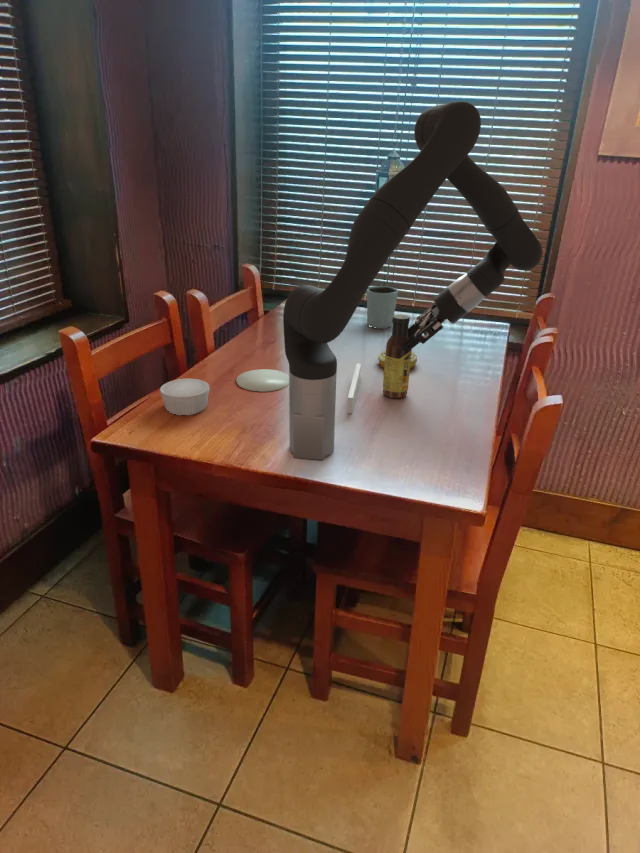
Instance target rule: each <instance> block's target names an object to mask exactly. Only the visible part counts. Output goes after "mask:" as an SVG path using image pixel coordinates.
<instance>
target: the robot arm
mask: <svg viewBox="0 0 640 853" xmlns="http://www.w3.org/2000/svg"><path fill="white" fill-rule="evenodd" d="M481 127H482V122H481V115H480V111H479V110H478V109H477V108H476V106H475V105H474V104H472V103H469V102H467V101H452V102H451V101H450V102H447V103H442V104H438V105H434V106H431V107H429V108H427V109H425V110H422V112H421V113H420V114H419V116H418V118H417V119H416V122H415V125H414V134H413V135H414V140H415V143H416V145H417V148H418V150H419V152H418V153H417V155H416V156H415V157H414V158H413V159H412V160H410V162H409V163H408V164H407V165H406V166H404V167H403V168H402V169H401V170H400V171H398V172H397V173H396V174H394V175H393V176H392V177H391V178H389V179H388V180H387V181H385V182H384V183H383V184H382V185H381V186H380V187H379V188H378V189H377V190H376V191H375V192H374V193H373V194H372V196H371V197H370V198H369V199H368V201H367V202H366V204H365V205H364V206H363V207H362V209H361V211H360V212H359V213H358V215H357V216H356V218H355V219H354V221H353V222H352V226H351V229H350V233H349V236H348V237H349V238H348V243H347V249H346V253H345V258H344V261H343V263H342V265H341V267H340V269H338V272H337V273H336V274H335V276H334V277H333V279H332V280H331V282H330V283H329V284H328V285H327V286H326V288H325V289H321V288H319V287H317V286H314V285H309V284H302V285H299V286H297V287H295V288H294V289H292V291H291V292H290V293H289V294H288V296H287V298H286V300H285V303H284V309H283V318H282V319H283V339H284V340H283V341H284V342H283V343H284V352H285V357H286V360H287V362H288V368H289V371H288V373H289V374H288V375H289V385H288V388H289V390H288V392H289V394H288V395H289V398H288V400H289V402H288V404H289V405H288V406H289V410H288V414H289V421H288V422H289V427H288V428H289V451H290V452H291V453H292V457H293V458H295V459H296V458H297V459H306V460H308V459H309V460H319V461H323V460H324V459H325V458H326V457H328V456H330V455H331V454H332V453H333V452H334V451H335V434H336V433H335V428H336V427H335V426H336V403H337V402H336V398H337V394H336V393H337V375H338V372H337V371H338V360H337V356H336V355H335V354H334V353H333V351H332V350H331V348H330V346H329V343H331V342H332V341H334V340H336V339H337V337H339V336H340V335H341V333H343V331H344V330H345V328H346V326H347V325H348V324H349V322H350V320H351V319H352V317H353V315H354V314H355V311H356V310H357V308H358V307H359V305H360V303H361V301H362V299H363V298H364V296H365V294H367V289H368V288H369V287H371V284H372V283H373V281H374V280H375V278H376V277H377V276H378V274H379V272H380V271H381V270H382V268H383V267H384V265H385V264H386V262H388V260H389V258H390V257H391V255H392V254H393V253H394V251H395V250H396V249H397V247H398V246H399V245H400V244H401V242H402V241H403V240H404V238H405V237H406V236H407V234H408V232H410V230H411V229H412V226H413V225H414V223H415V221H416V220H417V219H418V218H419V216H420V215H421V214H422V212H423V211H424V209H425V208H426V207H427V205H428V204H429V202H430V201H431V200H432V199H433V197H434V196H435V194H436V193H437V192H438V190H439V188H441V186H442V185H443V183H445V181H446V180H447V181H449V182H450V184H452V186H453V187H454V188H455V189H456V190H457V192H459V193H460V195H461V196H462V197H463V198H464V199H465V201H467V203H468V205H470V207H471V208H472V210H473V211H474V212H475V214H476V215H477V217H478V219H479V220H480V221H481V223H482V225H483V226H484V227H485V229H486V230H487V231H488V232H489V234H490V235H491V236H492V237H493V239H495V240H496V242H494V244H493V245H492V246H491V247H490V249H489V250H488V251H487V253H486V254H485V255H484V257H482V259H481V261H479V262H478V263H476V264H475V265H474V266H473V267H472V268H470V269H469V270H468V271H467V272H465V273H464V274H462V275H460V277H458V278H457V279H456V280H455V279H454V281H453V282H452V283H450V284H449V285H448V286H447V287H446V288H444V289H443V290H441V292H440V293H438V294H437V295H436V296H434V298H433V302H434V303H433V304H431V306H430V307H428V308H427V309H426V310H425V311H424V312H422V313H421V314H420V315H419V316H416V319H415V321H414V322H413V324H412V325H410V326H408V337H409V339H408V340H406V341H405V342H404V343H403V344H402V347H403V349H404V350H405V351H406V352H408V351H410V350H411V349H412V350H413V349H414V348H415V347H416V346H417V345H419V344H422V345H423V344H425V343H426V342H427V341H429V340H431V338H433V337H434V336H435V335H437V333H438V332H440V331H441V330H443V329H444V326H443V325H442V324H443V323H444V322H445V321H448V322H449V323H451V324H456V323H457V322H458V321H459V320H461V319H462V318H463V317H465V316H466V315H467V314H468V313H470V312H471V311H472V310H474V308H476V307H477V306H478V305H479V304H480V303H481V302H482V301H484V300H485V299H486V297H488V296H490V294H492V293H493V292H495V291H496V290H497V289H498V288H499V287H501V286H502V285H503V283H504V281H505V272H506V270H507V269H508V268H509V267H510V265H511V266H512V267H513V268H514V269H516V270H519V271H530V270H532V269H534V268H535V267H537V266H538V265H539V263H540V262H541V260H542V257H543V252H544V250H543V246H542V244H541V242H540V240H539V239H538V238H537V236H536V235H535V234H534V233H533V231H532V229H531V228H530V227H529V225H528V224H527V223H526V222H525V220H524V219H523V217H522V215H521V213H520V211H519V209H518V207H517V205H516V204H515V203H514V201H513V199H512V197H511V196H510V195H509V193H508V192H507V190H506V189H505V188H504V187H503V186H502V184H500V183H499V182H498V181H497V180H496V179H495V178H494V177H493V176H491V175H490V174H489V173H488V172H486V171H485V170H483V169H482V168H481V167H480V166H479V165H478V164H477V163H476V162H475V161H474V160H473V158H471V157H470V156H469V154H470V152H471V151H472V150H473V148H474V147H475V145H476V143H477V142H478V139H479V136H480V133H481Z"/></svg>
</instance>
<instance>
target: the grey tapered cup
mask: <svg viewBox="0 0 640 853" xmlns="http://www.w3.org/2000/svg"><path fill="white" fill-rule="evenodd" d="M398 295H399V290H398V288H395V287H392V286H385V285H373V286H369V288H368V289H367V291H366V299H367V300H366V307H367V308H366V325H367V324H368V325H370V326H372V327H376V328H388V327H391V326H392V327H393V323H392V319H393V316H394V315H395V312H396V305H397V299H398ZM368 325H367V326H368ZM392 327H391V328H392ZM388 329H389V328H388Z"/></svg>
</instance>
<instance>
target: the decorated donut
mask: <svg viewBox="0 0 640 853" xmlns="http://www.w3.org/2000/svg"><path fill="white" fill-rule="evenodd" d="M385 354H386V349H385V350H383V351H381V353H379V355H378V356H377V361H378V363H379V364H380V366H381V367H382V368H383V369H384V365H385ZM417 362H418V355H417V354H416V352H413V351H411V362H410V370H411V369H413V368H414V367H415V365H416V364H417Z"/></svg>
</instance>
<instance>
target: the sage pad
mask: <svg viewBox="0 0 640 853" xmlns="http://www.w3.org/2000/svg"><path fill="white" fill-rule="evenodd" d="M236 384H237V386H238V385H239V386H238V387H240V388H241V387H242V388H241V389H243V388H244V390H246V391H250V392H257V391H258V392H260V393H262V392H265V393H267V392H274V391H278V390H282V389H284V388H286V387H289V374H288V373H286V372H284V371H280V370H276V369H269V368H268V369H267V368H266V369H265V368H263V369H262V368H260V369H252V370H248V371H245V372H242V373H241V374H239V375H238V376H237V377H236Z"/></svg>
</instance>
